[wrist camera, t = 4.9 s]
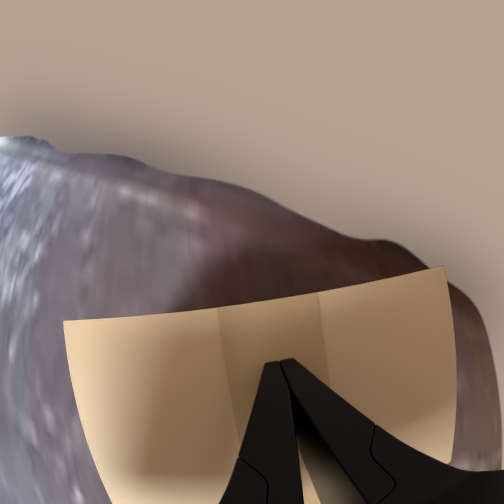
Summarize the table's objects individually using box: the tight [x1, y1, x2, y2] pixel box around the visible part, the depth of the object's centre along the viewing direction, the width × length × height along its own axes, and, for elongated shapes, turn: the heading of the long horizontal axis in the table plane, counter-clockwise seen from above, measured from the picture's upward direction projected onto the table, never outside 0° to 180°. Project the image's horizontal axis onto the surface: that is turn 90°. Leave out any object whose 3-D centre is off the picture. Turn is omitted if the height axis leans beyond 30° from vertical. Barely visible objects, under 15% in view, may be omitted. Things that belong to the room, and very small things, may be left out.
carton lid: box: [63, 266, 457, 504], centre depth 7 cm, size 9×14×1 cm, turn 99°
